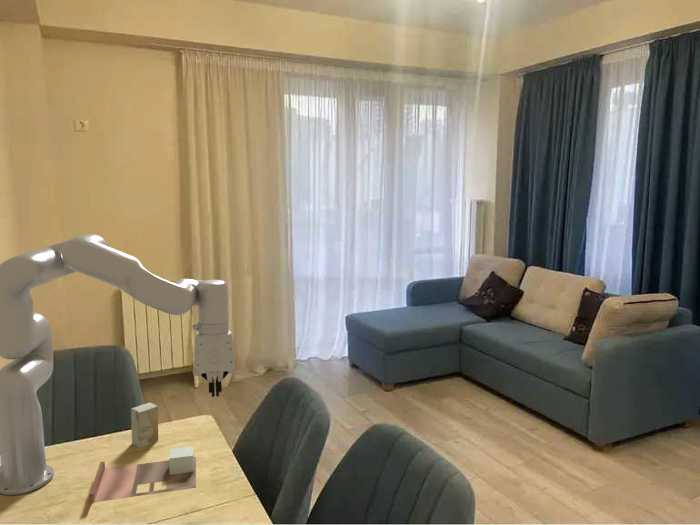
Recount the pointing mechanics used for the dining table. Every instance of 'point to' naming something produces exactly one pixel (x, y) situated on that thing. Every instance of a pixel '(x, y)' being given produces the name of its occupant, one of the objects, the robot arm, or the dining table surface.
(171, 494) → the dining table surface
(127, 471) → the track
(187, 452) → the sage block
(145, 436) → the skincare box
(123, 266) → the robot arm
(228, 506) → the dining table surface
